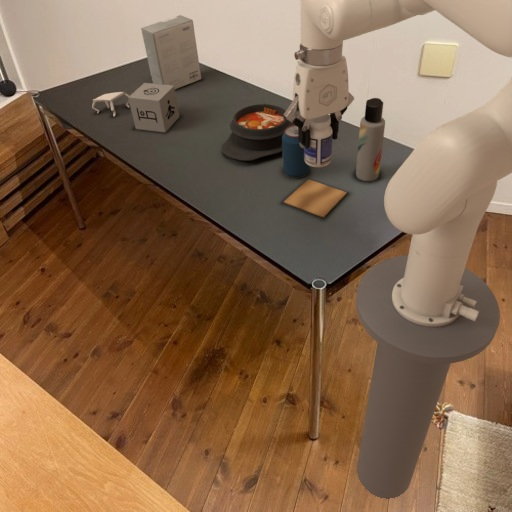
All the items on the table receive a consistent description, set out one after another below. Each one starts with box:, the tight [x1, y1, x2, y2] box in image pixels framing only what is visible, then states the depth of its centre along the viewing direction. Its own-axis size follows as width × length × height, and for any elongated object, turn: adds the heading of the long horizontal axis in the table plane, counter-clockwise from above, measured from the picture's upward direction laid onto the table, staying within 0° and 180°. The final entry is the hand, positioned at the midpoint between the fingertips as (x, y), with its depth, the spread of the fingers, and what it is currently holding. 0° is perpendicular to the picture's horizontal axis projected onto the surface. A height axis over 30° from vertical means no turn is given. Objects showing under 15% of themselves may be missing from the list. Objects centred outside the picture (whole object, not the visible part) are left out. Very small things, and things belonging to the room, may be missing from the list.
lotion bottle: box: [355, 97, 386, 182], centre depth 121 cm, size 6×6×20 cm
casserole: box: [220, 103, 295, 162], centre depth 139 cm, size 25×19×8 cm
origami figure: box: [91, 91, 130, 117], centre depth 161 cm, size 12×8×5 cm
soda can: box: [281, 125, 311, 179], centre depth 127 cm, size 7×7×12 cm
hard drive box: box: [140, 14, 202, 90], centre depth 169 cm, size 16×8×20 cm, turn 130°
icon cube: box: [127, 82, 180, 133], centre depth 152 cm, size 10×10×10 cm
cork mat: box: [283, 178, 348, 219], centre depth 122 cm, size 11×11×1 cm
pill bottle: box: [304, 114, 333, 168], centre depth 104 cm, size 6×6×10 cm
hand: (318, 140), depth 104 cm, fingers closed on pill bottle, 5 cm apart
